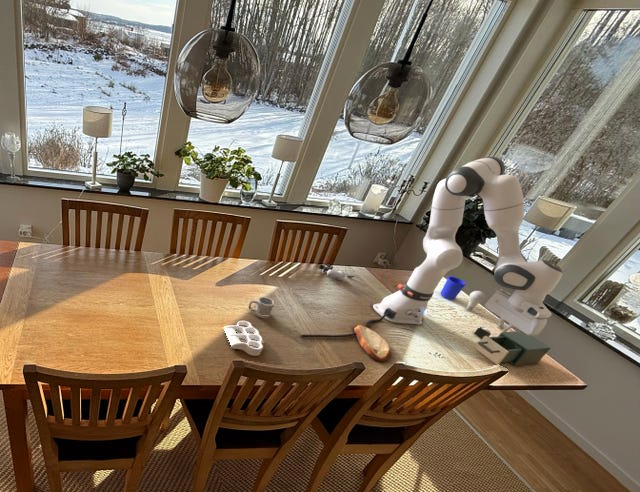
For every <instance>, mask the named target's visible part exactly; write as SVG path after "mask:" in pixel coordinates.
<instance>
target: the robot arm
mask: <svg viewBox="0 0 640 492" xmlns="http://www.w3.org/2000/svg"><path fill="white" fill-rule="evenodd" d="M505 171H506V164H505V162H504V161H503V160H502V159H501V158H499V157H497V156H485V157H481V158H479V159H475V160H472V161H469V162H467V163H466V164H463V165H461V166H459V167H456V168H455V169H454V170H452V171H450V173H448V175H447V176H446V178H443V179H441V180H440V181H439V182H438V183H437V185H436V187H435V190H434V193H433V197H432V201H431V202H432V203H431V210H430V217H429V224H428V228H427V230H426V233H425V236H424V237H423V240H422V247H423V251H424V253H425V254H426V258H425V259H424V260H423V262H422V263H421V264H420V265H418V266H416V267H415V268H414V270H413V271H412V273H411V275H410V277H409V278H408V280H407V281H406V282H405V283H404V284H401V283H399V284H398V285H397V288H398V289H399V290H397V291H395V292H393V293H392V294H389V295H387V296H385V297H384V298H383V299H382V300H381V302H378V303H375V304H374V303H373V305H372V308H373V309H374V311H375V312H376V313H377V314H378V315H379V316H381V317H380V318H378V319H370V320H367V322H366V323H365V324H364V325H363V326H364V327H367V328H368V325H369V324H371V323H377V322H378V323H379V322H381V321H383V320H384V319H385V320H387V321H389V322H391V323H392V324H393V323H395V324H407V325H418V326H419V325H422V323H423V321H422V319H423V317H424V315H426V314H427V309H428V303H429V301H431V299H432V298H433V296H434V292H435V290H436V288H437V287H438V286H439V283H440V282H441V280H442V279H443V278H444V276H446V275H447V274H448V273H449V272H450V271H451V270H454V269H456V268H458V267H459V266H460V265H461V264H462V263H463V260H464V254H463V250H462V248H461V246H460V245H459V244H458V243H457V242H456V234H457V232H458V229H459V227H461V226H462V224H463V218H464V214H465V213H464V212H465V205H466V199H467V197H469V198H475V197H477V196H480V197H481V199H482V203H483V214H484V217H485V221H486V224H487V226H488V228H489V229H491V230H492V231H493V232H494V233H495V236H496V240H497V247H498V249H497V250H498V257H497V258H496V260H495V263H494V272H493V273H494V275H493V278H494V281H495V282H496V284H498V285H499V286H501V287H503V288H506V289H511V290H514V291H513V293H510V292H509V291H507V290H505V289H503V288H500V289H497V290H496V291H494V293H493V295H492V296H491V297H490V298H489V299H488V300H487V301H486V302H485V305H484V306H485V309H487V310H489V311H490V312H491V313H493V314H495V315H497V316H498V317H500V318H499V319H498V325H497V327H496V328H497V329H498V330H499V331H501V332H508V331H509V330H510V329H514V328H516V329H518V331H522V332H524V333H525V334H527V335H529V336H533V337H535V336H538V335H539V334H540V333H541V332H542V331H543V330H544V328H545V327H546V325H547V322H548V318H550V317H551V316H552V312H551V311H550V310H549V309H548V308H547V306H546V305H545V304H544V301H545V299H546V296H547V295H549V294H550V293H551V292H552V291H553V290H554V289H555V288H556V287H557V285H558V283H559V282H560V280H561V279H562V277H563V275H564V273H563V270H562V269H561V267H560V266H559V265H557V264H556V263H554V262H553V261H550V260H547V259H541V260H536V261H529V260H528V259H527V258H526V257H525V256H524V254H523V253H522V252H521V245H520V236H519V230H520V227H521V225H522V223H523V221H524V216H525V200H524V194H523V190H522V186H521V183H520V181H519V179H518V177H517V176H516V175H513V174H505ZM505 322H507V323H508V324H507V326H506V325H505ZM352 336H356V332H355V331H354V332H352V333H347V334H301V335H300V337H301V338H347V337H352Z"/></svg>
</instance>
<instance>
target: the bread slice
mask: <svg viewBox="0 0 640 492" xmlns="http://www.w3.org/2000/svg"><path fill="white" fill-rule="evenodd" d="M364 326H365V325H361V324H357V326H356V327H354V333H355V332H356V335H355V337H356V338H357V341H358V343H359V344H360V346H361V348H362V349H363V350H364V351H365V353H366V354H367V355H368V356H369V357H370V358H372V359H374V360H375V361H377V362H386V361H387V360H388V359H389V358H390V356H391V348H390V344H389V343H388V342H387V341H386V339H384V338H383V337H381V336H380V334H378V333H377V332H376V331H374V330H373V329H371V328H369V327H368V326H367V327H364Z"/></svg>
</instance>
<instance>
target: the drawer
mask: <svg viewBox="0 0 640 492" xmlns="http://www.w3.org/2000/svg"><path fill="white" fill-rule="evenodd" d="M476 343H477V345H476V346H475V350H477V351H478V352H479V353H480V354H482V356H485V357H486V358H487V359H488V360H490V361H491V362H492V363H494V364H496V365H498V366H499V365H500V364H501V363H510V362H511V361H516V360H517V358H518V357H519V356H520V355H521V354H522V352H523V351H524V349H522V348H521V347H519V346H518V345H516V344H515V343H513V342H512V341H510V340H509V339H507V338H506V337H505V336H499V335H498V336H489V337H487V336H484V337H483V338H482V339H481V340H480V341H478V342H476Z"/></svg>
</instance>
